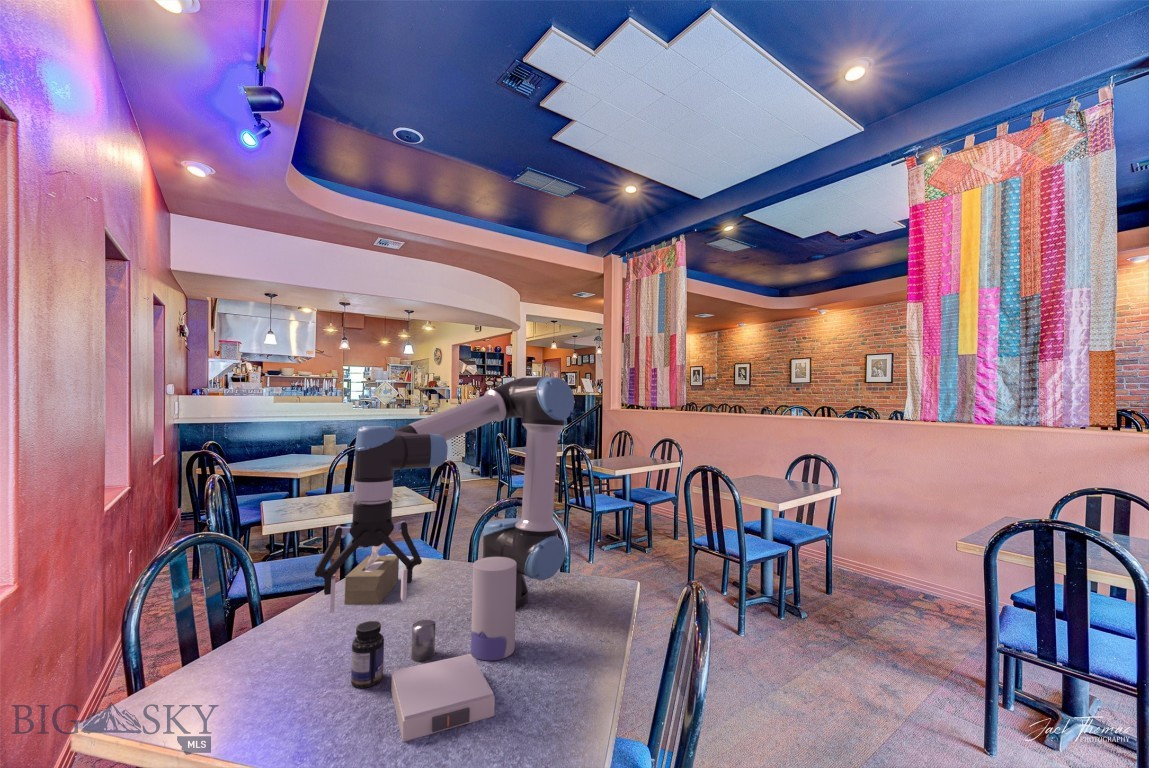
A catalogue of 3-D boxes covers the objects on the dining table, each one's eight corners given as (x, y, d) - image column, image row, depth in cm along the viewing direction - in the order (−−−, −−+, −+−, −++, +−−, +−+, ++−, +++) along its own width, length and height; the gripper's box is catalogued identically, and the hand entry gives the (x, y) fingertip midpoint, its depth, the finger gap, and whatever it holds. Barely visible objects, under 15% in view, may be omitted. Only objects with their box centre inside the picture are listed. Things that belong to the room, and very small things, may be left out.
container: (521, 644, 116) (523, 558, 117) (502, 665, 107) (504, 572, 107) (484, 636, 119) (486, 553, 120) (462, 656, 110) (464, 566, 111)
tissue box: (379, 605, 137) (381, 548, 137) (343, 605, 136) (345, 548, 137) (398, 580, 155) (400, 530, 156) (367, 581, 155) (368, 530, 155)
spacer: (432, 648, 113) (433, 618, 113) (436, 659, 109) (437, 627, 109) (409, 653, 111) (410, 622, 111) (413, 664, 106) (414, 631, 107)
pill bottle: (375, 668, 104) (377, 616, 105) (388, 680, 100) (389, 626, 100) (345, 680, 100) (347, 625, 100) (357, 693, 95) (359, 635, 96)
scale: (471, 672, 104) (471, 652, 104) (495, 718, 89) (496, 695, 89) (391, 691, 96) (391, 670, 96) (403, 744, 81) (404, 720, 81)
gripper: (431, 493, 110) (427, 589, 109) (305, 501, 99) (300, 607, 98) (437, 499, 103) (434, 601, 103) (303, 508, 92) (298, 622, 91)
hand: (368, 604), depth 100 cm, fingers open, 13 cm apart
